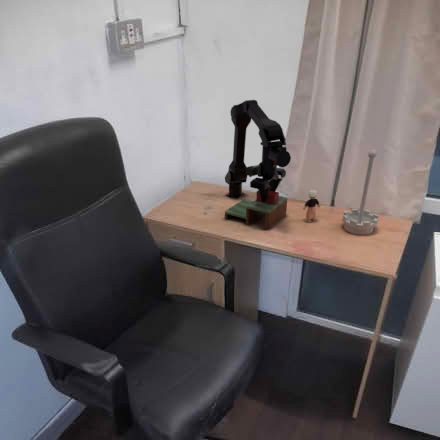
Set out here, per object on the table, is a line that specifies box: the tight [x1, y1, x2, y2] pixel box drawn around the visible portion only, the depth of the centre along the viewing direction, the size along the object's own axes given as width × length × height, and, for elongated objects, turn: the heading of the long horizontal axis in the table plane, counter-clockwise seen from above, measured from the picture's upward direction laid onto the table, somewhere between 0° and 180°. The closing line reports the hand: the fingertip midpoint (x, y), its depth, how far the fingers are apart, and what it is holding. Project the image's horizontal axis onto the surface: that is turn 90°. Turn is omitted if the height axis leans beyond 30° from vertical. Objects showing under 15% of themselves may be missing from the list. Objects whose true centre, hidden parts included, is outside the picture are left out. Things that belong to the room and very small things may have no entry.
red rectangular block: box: [255, 189, 280, 205], centre depth 164 cm, size 4×8×4 cm, turn 57°
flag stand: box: [341, 149, 379, 236], centre depth 154 cm, size 13×13×30 cm
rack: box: [224, 195, 288, 231], centre depth 170 cm, size 16×20×8 cm
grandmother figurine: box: [302, 189, 321, 223], centre depth 165 cm, size 8×4×13 cm, turn 126°
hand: (267, 199), depth 165 cm, fingers open, 6 cm apart
